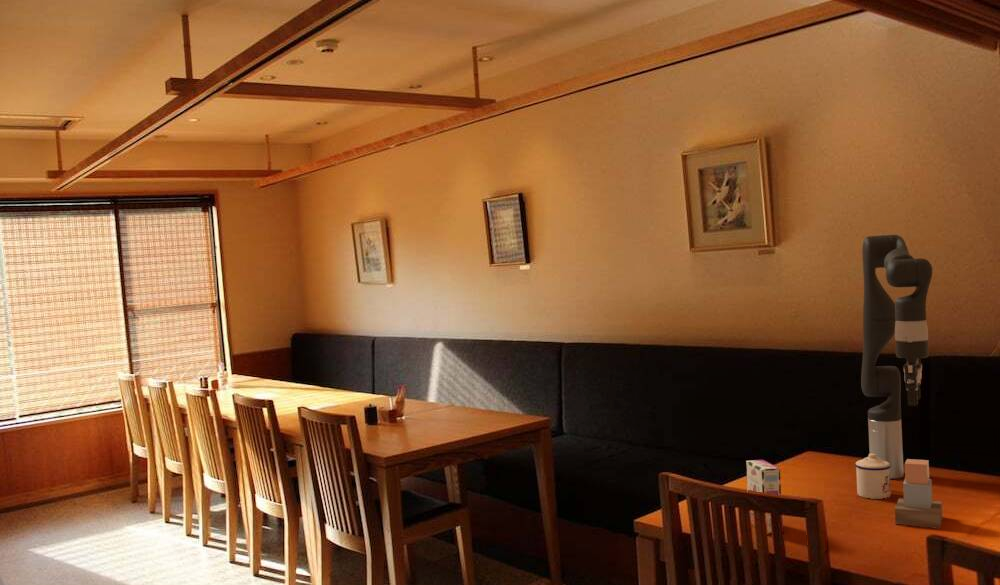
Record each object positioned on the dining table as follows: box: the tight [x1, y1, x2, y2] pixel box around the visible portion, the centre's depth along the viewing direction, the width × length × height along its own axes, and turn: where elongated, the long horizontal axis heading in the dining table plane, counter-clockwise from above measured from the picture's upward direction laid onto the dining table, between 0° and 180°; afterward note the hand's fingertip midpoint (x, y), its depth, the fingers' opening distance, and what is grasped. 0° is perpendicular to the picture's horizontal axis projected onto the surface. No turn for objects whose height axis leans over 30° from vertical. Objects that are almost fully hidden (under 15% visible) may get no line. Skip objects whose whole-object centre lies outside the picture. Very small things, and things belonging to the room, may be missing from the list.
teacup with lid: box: [854, 453, 892, 500], centre depth 244 cm, size 12×9×12 cm
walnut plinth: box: [894, 497, 943, 529], centre depth 219 cm, size 10×10×4 cm
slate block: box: [902, 478, 933, 509], centre depth 219 cm, size 6×6×6 cm
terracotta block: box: [904, 458, 930, 485], centre depth 219 cm, size 5×5×5 cm
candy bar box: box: [745, 459, 782, 535], centre depth 220 cm, size 11×5×16 cm, turn 5°
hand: (914, 402), depth 218 cm, fingers open, 8 cm apart
